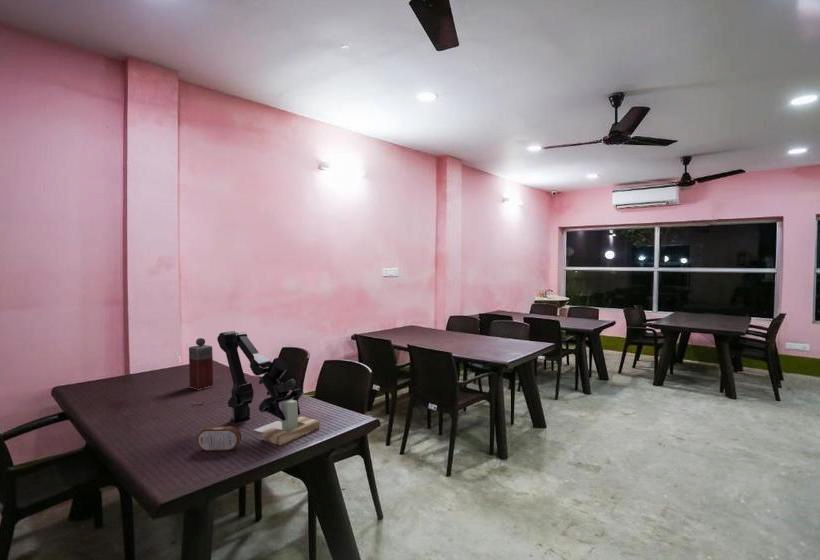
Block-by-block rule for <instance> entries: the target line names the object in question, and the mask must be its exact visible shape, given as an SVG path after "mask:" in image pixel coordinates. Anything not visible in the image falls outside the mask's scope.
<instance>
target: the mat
mask: <svg viewBox="0 0 820 560" xmlns="http://www.w3.org/2000/svg"><path fill="white" fill-rule="evenodd" d="M270 428H277V429H280V430H282V421H280V420H276V421H274V422H270V423H268V424H266V425H263V426H260V427H258V428H255V429H253V432H255V433H256V432H257V433H260V434H262V432H263V431H265V430H268V429H270Z"/></svg>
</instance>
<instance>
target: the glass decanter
mask: <svg viewBox="0 0 820 560" xmlns="http://www.w3.org/2000/svg"><path fill="white" fill-rule="evenodd" d="M205 343H206V340H205V338H204V337H203V338H202V337H198V338H197V339H196V340H195V344H196V345H193V346H189V348H188V361H189V362H188V365H189V367H188V368H189V369H188V370H189V371H188V372H189V375H188V376H189V388H190V387H193V388H196V389H200V388H204V387H208V386H212V385H213V386H214V369H213V368H214V364H213V363H214V362H213V361H214V359H213V358H214V357H213V346H212V345H207V344H205Z"/></svg>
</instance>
